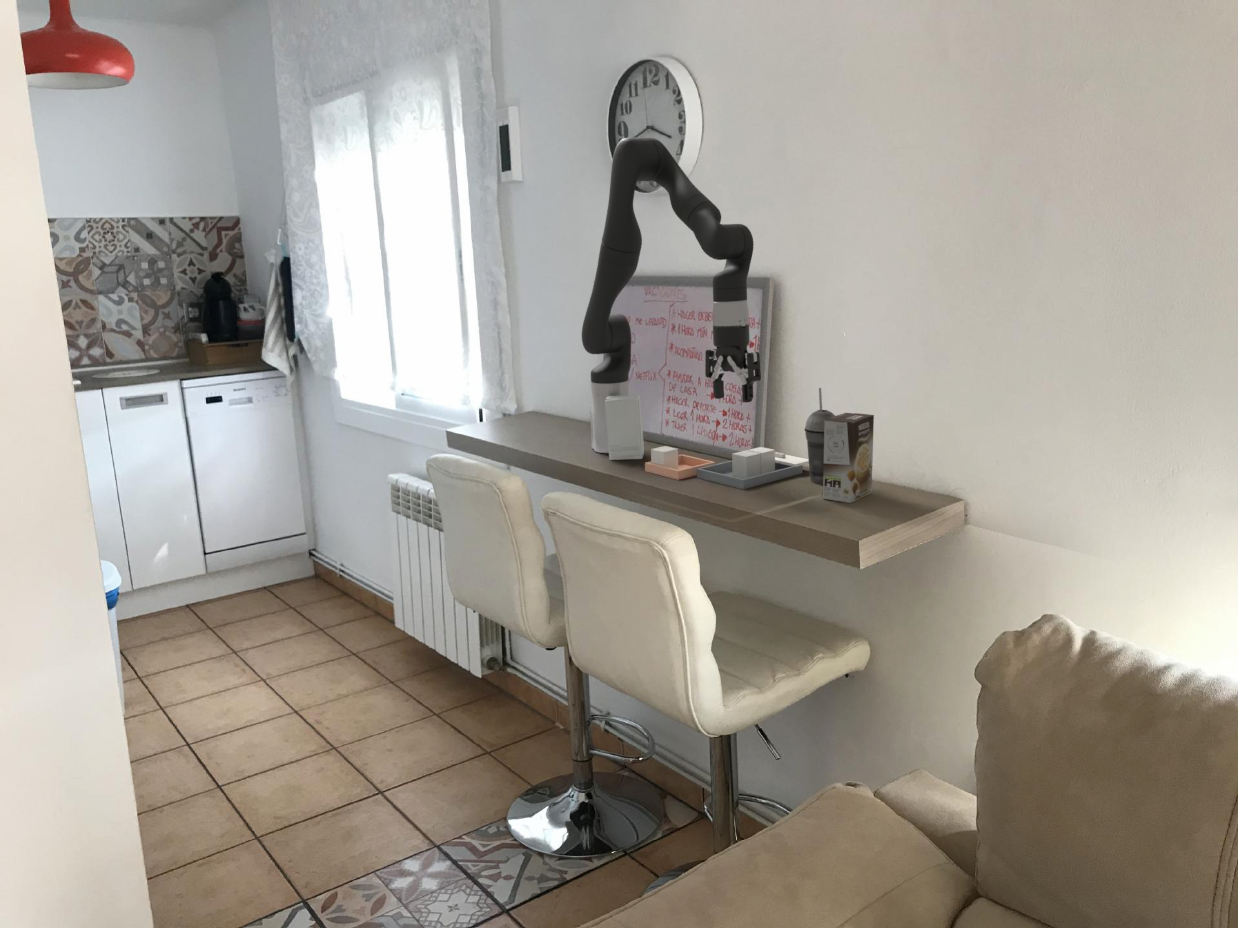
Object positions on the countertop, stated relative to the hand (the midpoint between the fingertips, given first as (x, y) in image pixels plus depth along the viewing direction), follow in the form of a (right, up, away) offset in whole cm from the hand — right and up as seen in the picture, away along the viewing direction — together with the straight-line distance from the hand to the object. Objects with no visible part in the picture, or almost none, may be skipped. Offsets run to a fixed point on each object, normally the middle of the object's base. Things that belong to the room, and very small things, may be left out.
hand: (733, 400), depth 208 cm
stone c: (+7, -15, +6) cm, 18 cm away
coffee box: (+21, -20, -12) cm, 32 cm away
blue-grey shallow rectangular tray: (+5, -16, +5) cm, 18 cm away
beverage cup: (+18, -18, -2) cm, 26 cm away
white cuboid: (+3, -16, +4) cm, 17 cm away
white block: (-14, -15, +11) cm, 23 cm away
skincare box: (-22, -12, +28) cm, 38 cm away
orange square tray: (-11, -16, +11) cm, 22 cm away
